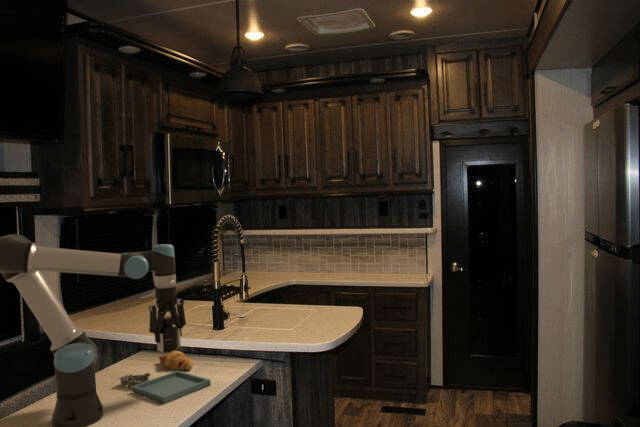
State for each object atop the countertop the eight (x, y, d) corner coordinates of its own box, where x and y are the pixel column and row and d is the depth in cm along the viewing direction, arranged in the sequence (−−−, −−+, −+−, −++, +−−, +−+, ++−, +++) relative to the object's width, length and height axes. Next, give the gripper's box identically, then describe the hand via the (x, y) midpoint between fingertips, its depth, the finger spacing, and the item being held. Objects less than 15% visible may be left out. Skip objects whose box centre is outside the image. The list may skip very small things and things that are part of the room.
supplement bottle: (166, 353, 185) (164, 320, 185) (156, 350, 190) (154, 318, 189) (182, 348, 190) (180, 316, 190) (172, 345, 195) (170, 314, 194)
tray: (164, 404, 176) (164, 397, 176) (132, 392, 189) (131, 386, 189) (210, 385, 192) (210, 379, 192) (177, 376, 205) (177, 370, 204)
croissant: (197, 377, 213) (204, 357, 215) (180, 372, 205) (186, 352, 208) (165, 368, 225) (172, 349, 228) (147, 363, 218) (154, 344, 221)
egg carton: (152, 383, 198) (152, 373, 198) (137, 390, 192) (137, 379, 191) (132, 380, 203) (131, 370, 203) (117, 387, 196) (116, 376, 196)
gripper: (147, 291, 179) (151, 357, 180) (194, 282, 195) (197, 343, 195) (135, 290, 184) (139, 353, 185) (181, 281, 199) (185, 340, 200)
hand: (169, 348), depth 190 cm, fingers closed on supplement bottle, 7 cm apart
